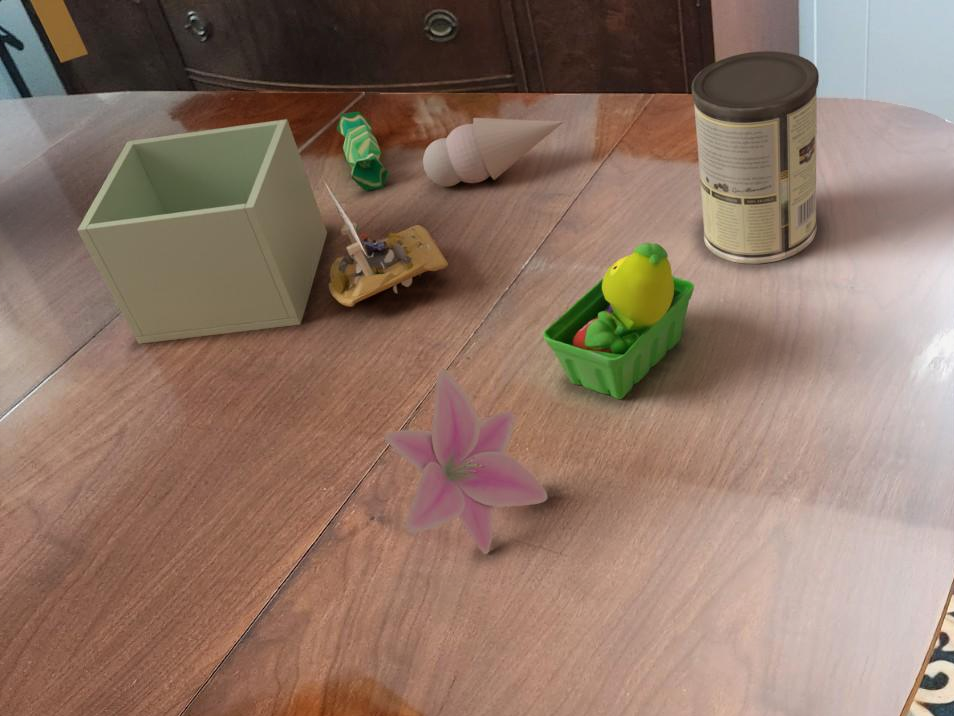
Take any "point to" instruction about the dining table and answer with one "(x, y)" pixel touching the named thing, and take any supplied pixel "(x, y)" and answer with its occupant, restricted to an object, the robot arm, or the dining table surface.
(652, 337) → the fruit basket
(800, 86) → the coffee can
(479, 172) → the ice cream cone
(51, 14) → the orange rectangular block
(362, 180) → the candy
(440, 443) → the lily
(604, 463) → the dining table surface
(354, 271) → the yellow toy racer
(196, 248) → the waste bin
